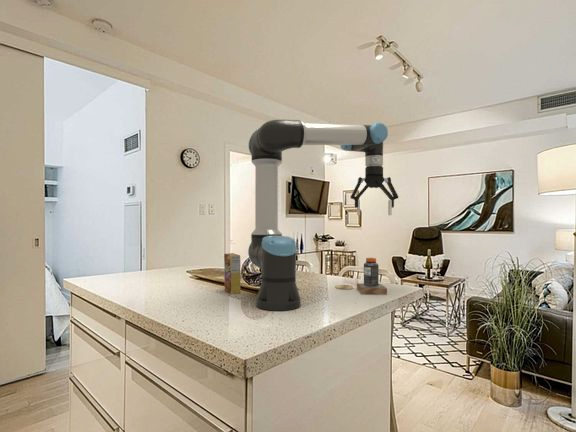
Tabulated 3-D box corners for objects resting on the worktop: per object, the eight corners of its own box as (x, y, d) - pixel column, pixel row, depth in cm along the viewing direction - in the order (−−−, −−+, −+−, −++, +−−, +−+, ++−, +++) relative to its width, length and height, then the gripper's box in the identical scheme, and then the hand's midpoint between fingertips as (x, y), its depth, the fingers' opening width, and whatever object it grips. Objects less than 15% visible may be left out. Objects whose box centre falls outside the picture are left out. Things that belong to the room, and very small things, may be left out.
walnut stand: (361, 294, 131) (361, 287, 131) (356, 289, 141) (356, 283, 141) (386, 294, 131) (386, 287, 131) (380, 289, 141) (380, 283, 141)
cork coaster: (336, 289, 140) (336, 288, 140) (333, 285, 148) (333, 284, 148) (354, 289, 140) (354, 288, 140) (351, 286, 148) (351, 284, 148)
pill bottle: (377, 284, 138) (377, 257, 139) (379, 287, 132) (379, 258, 133) (362, 283, 139) (362, 256, 139) (364, 286, 133) (364, 258, 133)
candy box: (223, 290, 137) (223, 253, 137) (233, 289, 139) (233, 252, 139) (230, 294, 129) (230, 255, 129) (240, 293, 131) (241, 254, 131)
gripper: (346, 165, 141) (346, 214, 140) (405, 164, 140) (406, 215, 139) (344, 168, 148) (344, 215, 148) (400, 167, 147) (400, 215, 147)
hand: (374, 215), depth 144 cm, fingers open, 13 cm apart
